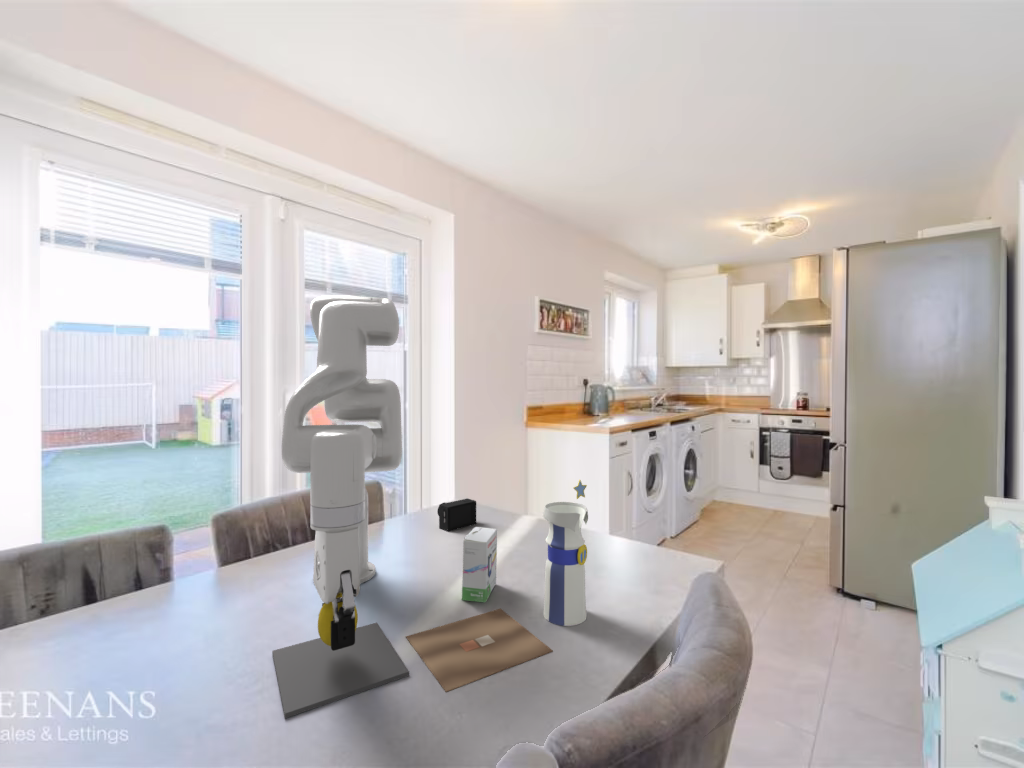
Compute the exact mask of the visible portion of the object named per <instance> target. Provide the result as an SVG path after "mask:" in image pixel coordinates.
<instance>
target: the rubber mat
mask: <svg viewBox="0 0 1024 768" xmlns="http://www.w3.org/2000/svg"><path fill="white" fill-rule="evenodd" d="M271 655H272V660H273V665H274V669H275V674H276V681H277V685H278V690H279V695H280V701H281V706H282V710H283V715H284V719H287V718H291V717H292V716H296V715H299V714H301V713H305V712H307V711H310V710H313V709H316V708H319V707H322V706H324V705H327V704H331V703H333V702H336V701H339V700H343V699H346V698H348V697H351V696H353V695H356V694H359V693H362V692H366V691H368V690H371V689H374V688H377V687H380V686H383V685H385V684H388V683H392V682H395V681H398V680H401V679H403V678H406V677H409V676H410V671H409V669H408V667H407V666H406V664H405V662H404V661H403V660H402V658H401V657H400V655H399V654H398V652H397V651H396V649H395V648H394V646H393V645H392V643H391V642H390V640H389V638H388V637H387V635H386V634H385V633H384V631H383V629H382V628H381V626H380V625H379V623H378V622H374V623H370V624H366V625H363V626H359V627H357V628H356V631H355V644H354V645H352V646H349V647H345V648H342V649H338V650H335V651H333V650H332V649H331V646H328V645H327V644H325V643H324V642H323V641H322V640H321V638H320V637H317V638H315V639H311V640H307V641H304V642H299V643H296V644H292V645H288V646H284V647H281V648H277V649H273V650H272V654H271Z"/></svg>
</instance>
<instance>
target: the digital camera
mask: <svg viewBox="0 0 1024 768" xmlns="http://www.w3.org/2000/svg"><path fill="white" fill-rule="evenodd" d="M437 516H438V523H439V525H438V527H439V529H440V530H441V531H445V532H447V533H449V532H453V531H455V530H459V529H463V528H467V527H470V525H471V526H474V524H475V525H476V524H477V501H476V500H475V499H470V498H463V499H459V500H454V501H449V502H442V503H440V504H439V505H438V507H437Z"/></svg>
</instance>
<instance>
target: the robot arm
mask: <svg viewBox="0 0 1024 768" xmlns="http://www.w3.org/2000/svg"><path fill="white" fill-rule="evenodd" d="M309 314H310V321H311V326H312V328H313V331H314V334H315V335H314V336H315V338H316V339H317V356H316V369H315V371H314V372H313V373H312V374H311V375H309V377H307V378H306V379H305V380H303V382H302V383H301V384H300V385H299V386H297V388H296V390H295V391H294V392H293V394H292V396H291V397H290V399H289V400H288V403H287V405H286V408H285V410H284V418H283V426H282V437H281V460H282V463H283V465H284V466H285V468H286V470H288V471H290V472H293V473H296V474H306V473H307V474H309V473H310V479H309V480H310V481H309V483H310V487H309V488H310V489H309V490H310V496H309V497H310V498H309V499H310V501H309V502H310V522H309V523H310V524H309V525H310V527H309V528H310V529H311V530H313V531H315V534H314V535H315V536H314V549H313V550H314V553H313V554H314V555H313V574H312V581H313V585H314V586H315V589H316V591H317V594H318V595H319V598H320V600H321V602H322V603H321V604H322V605H321V606H323V604H324V603H325V604H329V602H332V609H333V621H331V649H332V650H333V651H335V650H338V649H342V648H345V647H349V646H352V645H354V644H355V609H354V608H355V606H356V604H355V598H357V597H358V596H359V594H360V591H361V584H364V583H366V582H367V581H370V580H372V578H373V577H374V576H375V575H376V570H377V569H376V565H375V564H374V563H372V562H370V561H369V493H368V490H367V488H366V481H365V480H366V477H365V474H366V473H378V472H391V471H395V470H396V469H398V468H399V467H400V464H401V462H402V455H403V450H402V449H403V441H402V440H403V437H402V436H403V435H402V401H401V400H402V399H401V394H400V389H399V386H398V384H397V383H396V382H395V381H394V380H391V379H386V378H371V379H370V378H367V375H368V374H367V373H368V369H367V368H368V367H367V364H368V363H367V360H368V359H367V358H368V357H367V356H368V355H367V346H369V347H370V346H373V347H374V346H375V347H377V346H378V347H390V346H393V345H395V344H396V343H397V341H398V339H399V334H400V320H399V313H398V310H397V307H396V306H395V303H394V301H393V300H392V299H390V298H386V297H379V296H378V297H377V296H374V297H373V296H361V295H360V296H359V295H344V294H343V295H340V294H330V295H321V296H318V297H316V298H314V299H313V300H312V301H311V303H310V308H309ZM323 401H324V411H325V415H326V417H327V418H328V420H330V421H333V422H336V423H377V424H378V425H380V427H371V428H370V427H368V425H364V424H318V425H317V424H314V425H313V424H312V425H304V420H305V418H306V415H307V414H308V413H309V412H310V410H312V409H313V408H314V407H315V406H317V405H319V403H322V402H323ZM338 593H339V594H341V595H342V597H339V598H336V595H337V594H338ZM340 602H343V605H342V606H343V607H340V608H339V610H338V603H340Z"/></svg>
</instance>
